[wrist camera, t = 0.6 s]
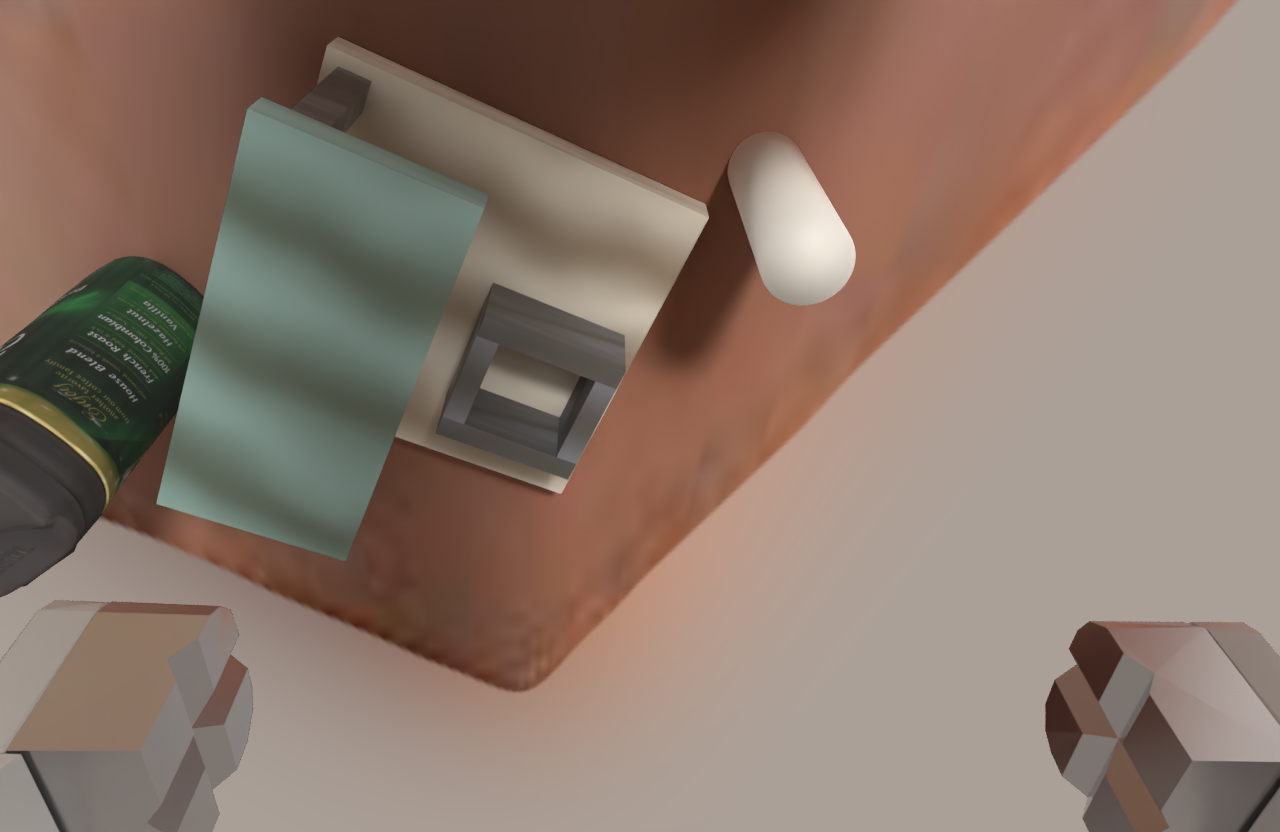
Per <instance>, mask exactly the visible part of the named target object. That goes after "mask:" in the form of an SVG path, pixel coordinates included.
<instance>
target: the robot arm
mask: <svg viewBox="0 0 1280 832" xmlns="http://www.w3.org/2000/svg"><path fill="white" fill-rule="evenodd" d="M238 636H239V633H238V630H237V627H236V624H235V621H234V618H233V614H232V611H231V610H230V609H227V608H224V607H221V606H203V605H181V604H180V605H179V604H157V603H133V602H111V603H109V602H86V601H62V600H55V601H53V602H52V603H50V604H48V605H46V606H45V607H43V608H41V609H40V610H39V611H37V613H35V615H34V616H33V617H32V619H31V620H30V621H29V623H28V624H27V625H26V627H25V628H24V630H23V631H22V632H21V634H20V635H19V636H18V638H17V639H16V640H15V642H14V643H13V644H12V646H11V647H10V648H9V650H8V651H7V653H6V654H5V655H4V657H3V658H2V659H1V661H0V832H212V831H213V829H214V826H215V824H216V821H217V819H218V816H219V810H218V807H217V804H216V801H215V797H214V794H213V791H212V790H213V789H214V788H215V787H216V786H218V785H219V784H220V783H221V782H222V781H223V780H225V779H226V778H227V777H228V776H230V774H232V773H233V772H234V771H235V770H237V768H238V765H239V763H240V760H241V757H242V755H243V752H244V749H245V746H246V744H247V741H248V735H249V730H250V724H251V718H252V713H253V698H252V697H253V696H252V684H251V680H250V676H249V672H248V668H247V667H245V666H244V665H243V664H242V663H240V662H239V661H238V660H237V659H235V658H234V657H233V656H232V655H231V652H232V650H233V647H234V645H235V643H236V641H237V638H238ZM1069 650H1070V652H1071V654H1072V656H1073V658H1074V660H1075V662H1076V663H1077V665H1075V666H1074V667H1072V668H1071V669H1070V670H1068V671H1067V672H1065V673H1064V674H1063V675H1061V676H1060V677H1058V678H1057V679H1055V681H1054V683H1053V686H1052V688H1051V691H1050V693H1049V696H1048V698H1047V701H1046V704H1045V707H1046V708H1045V709H1046V711H1045V712H1046V715H1045V718H1046V721H1045V722H1046V723H1045V724H1046V725H1045V731H1046V735H1047V738H1048V742H1049V746H1050V750H1051V753H1052V756H1053V758H1054V759H1055V762H1056V764H1057V766H1058V769H1059V771H1060V773H1061V775H1062V776H1063V777H1064V778H1065V779H1066V780H1067V781H1069V782H1070V783H1071V784H1073V785H1074V786H1075V787H1076V788H1077V789H1079V790H1080V791H1081V792H1082V793H1083V794H1085V795H1086V796H1087V802H1086V806H1085V810H1084V814H1083V820H1084V822H1085V824H1086V827H1087V829H1088V831H1089V832H1280V656H1279V655H1278V654H1277V653H1276V652H1275V650H1274V649H1273V648H1272V647H1271V646H1270V644H1269V643H1268V642H1267V641H1266V639H1265V638H1264V637H1263V636H1262V635H1261V634H1260V633H1259V632H1258V631H1256V630H1255V629H1253V628H1251V627H1250V626H1248V625H1247V624H1245V623H1241V622H1240V623H1239V622H1237V623H1236V622H1191V623H1184V622H1130V621H1128V622H1127V621H1126V622H1125V621H1121V622H1120V621H1119V622H1118V621H1089V622H1088V623H1087V624H1085V625H1084V626H1083V627H1081V628H1080V629H1079V630H1078V631H1077V633H1076V635H1075V637H1074V639H1073V641H1072V643H1071V645H1070V647H1069Z"/></svg>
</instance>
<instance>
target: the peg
mask: <svg viewBox="0 0 1280 832" xmlns="http://www.w3.org/2000/svg"><path fill="white" fill-rule="evenodd" d="M728 180H729V183H730V186H731V189H732V192H733V195H734V198H735V201H736V204H737V207H738V210H739V213H740V216H741V219H742V222H743V225H744V228H745V231H746V234H747V237H748V240H749V243H750V246H751V248H752V251H753V254H754V257H755V260H756V263H757V266H758V269H759V272H760V275H761V278H762V281H763V283H764V285H765V286H766V288H767V289H768V291H769V292H770V293H771V294H772V295H773V296H775V297H776V298H777V299H779V300H781V301H783V302H786V303H788V304H793V305H812V304H816V303H819V302H822V301H824V300H826V299H828V298H830V297H832V296H833V295H835V294H836V293H837V292H838V291H839V290H841V288H842V287H843V286H844V285H845V284H846V282H847V281H848V280H849V278H850V276H851V274H852V271H853V269H854V265H855V258H856V254H855V246H854V243H853V240H852V238H851V236H850V235H849V233H848V231H847V229H846V228H845V226H844V224H843V223H842V221H841V219H840V218H839V216H838V214H837V212H836V211H835V209H834V207H833V206H832V204H831V202H830V201H829V199H828V197H827V195H826V194H825V192H824V190H823V189H822V187H821V185H820V184H819V182H818V180H817V178H816V177H815V175H814V173H813V172H812V170H811V168H810V167H809V165H808V163H807V161H806V160H805V158H804V156H803V155H802V153H801V151H800V150H799V148H798V146H797V145H796V144H795V143H794V141H793V140H791V139H790V138H789V137H787V136H786V135H783V134H781V133H778V132H772V131H765V132H759V133H756V134H753V135H751V136H749V137H747V138H746V139H745V140H743V141H742V142H741V143H740V144H739V145H738V146H737V147H736V149H735V150H734V152H733V153H732V155H731V157H730V160H729V164H728Z"/></svg>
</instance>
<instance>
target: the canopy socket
mask: <svg viewBox="0 0 1280 832" xmlns="http://www.w3.org/2000/svg"><path fill="white" fill-rule="evenodd" d="M708 219H709V215H708V212H707V208H706V204H704V203H702V202H700V201H698V200H695V199H693V198H691V197H689V196H687V195H685V194H682V193H680V192H678V191H676V190H674V189H671V188H669V187H667V186H665V185H663V184H660V183H658V182H656V181H654V180H652V179H649V178H647V177H645V176H643V175H641V174H638V173H636V172H634V171H632V170H630V169H627V168H625V167H623V166H621V165H619V164H616V163H614V162H612V161H610V160H608V159H605V158H603V157H601V156H599V155H597V154H595V153H592V152H590V151H588V150H586V149H584V148H581V147H579V146H577V145H575V144H573V143H570V142H568V141H566V140H564V139H562V138H559V137H557V136H555V135H553V134H551V133H548V132H546V131H544V130H542V129H540V128H537V127H535V126H533V125H531V124H529V123H526V122H524V121H522V120H520V119H518V118H516V117H513V116H511V115H509V114H507V113H505V112H502V111H500V110H498V109H496V108H494V107H491V106H489V105H487V104H485V103H483V102H480V101H478V100H476V99H474V98H472V97H469V96H467V95H465V94H463V93H461V92H458V91H456V90H454V89H452V88H450V87H447V86H445V85H443V84H441V83H439V82H437V81H434V80H432V79H430V78H428V77H426V76H423V75H421V74H419V73H417V72H415V71H412V70H410V69H408V68H406V67H404V66H401V65H399V64H397V63H395V62H393V61H390V60H388V59H386V58H384V57H382V56H379V55H377V54H375V53H373V52H371V51H368V50H366V49H364V48H362V47H360V46H358V45H355V44H353V43H351V42H349V41H347V40H344V39H342V38H340V37H337V38H336V39H334V40H333V41H332V42H331V43H329V44H328V45H327V48H326V51H325V55H324V59H323V63H322V66H321V70H320V74H319V77H318V81H317V85H316V87H315V88H314V89H312V90H311V91H310V92H309V93H308V94H307V95H306V96H305V97H304V98H302V99H301V100H300V101H299V102H298V103H297V104H296V105H295V106H294V107H292V108H291V109H289V108H286V107H284V106H282V105H279V104H277V103H275V102H272V101H270V100H268V99H265V98H263V97H261V98H260V99H259V100H257V101H256V102H255V103H254V104H252V105H251V106H250V107H249V108H247V112H246V117H245V121H244V125H243V130H242V134H241V138H240V143H239V147H238V151H237V156H236V160H235V164H234V169H233V173H232V177H231V182H230V186H229V190H228V195H227V199H226V204H225V208H224V212H223V217H222V221H221V225H220V230H219V234H218V238H217V243H216V247H215V251H214V256H213V260H212V264H211V269H210V273H209V277H208V282H207V286H206V290H205V295H204V299H203V303H202V308H201V312H200V316H199V321H198V325H197V329H196V334H195V338H194V342H193V347H192V351H191V355H190V360H189V364H188V368H187V373H186V377H185V381H184V386H183V390H182V394H181V399H180V403H179V407H178V412H177V416H176V420H175V425H174V429H173V433H172V438H171V442H170V446H169V451H168V455H167V459H166V464H165V468H164V472H163V477H162V481H161V485H160V490H159V494H158V498H157V503H156V504H158V505H161V506H164V507H168V508H171V509H174V510H178V511H181V512H184V513H188V514H191V515H194V516H197V517H201V518H204V519H207V520H211V521H214V522H217V523H220V524H224V525H227V526H230V527H234V528H237V529H240V530H244V531H247V532H250V533H253V534H257V535H260V536H263V537H267V538H270V539H273V540H276V541H280V542H283V543H286V544H290V545H293V546H296V547H299V548H303V549H306V550H309V551H313V552H316V553H319V554H323V555H326V556H329V557H332V558H336V559H339V560H342V561H346V560H347V557H348V555H349V552H350V549H351V547H352V544H353V542H354V539H355V537H356V534H357V532H358V529H359V527H360V524H361V521H362V519H363V516H364V514H365V511H366V509H367V506H368V504H369V501H370V498H371V496H372V493H373V491H374V488H375V486H376V483H377V481H378V478H379V476H380V473H381V470H382V468H383V465H384V463H385V460H386V458H387V455H388V453H389V450H390V448H391V445H392V442H393V440H394V437H398V438H400V439H403V440H406V441H409V442H412V443H415V444H418V445H421V446H424V447H427V448H429V449H432V450H435V451H438V452H441V453H444V454H447V455H450V456H453V457H456V458H458V459H461V460H464V461H467V462H470V463H473V464H476V465H479V466H482V467H485V468H487V469H490V470H493V471H496V472H499V473H502V474H505V475H508V476H511V477H514V478H516V479H519V480H522V481H525V482H528V483H531V484H534V485H537V486H540V487H543V488H545V489H548V490H551V491H554V492H557V493H560V494H561V493H562V491H563V490H564V488H565V486H566V484H567V482H568V480H569V478H570V477H571V475H572V473H573V471H574V469H575V467H576V465H577V463H578V462H579V460H580V458H581V456H582V454H583V452H584V450H585V449H586V447H587V445H588V443H589V441H590V439H591V437H592V435H593V434H594V432H595V430H596V428H597V426H598V424H599V422H600V421H601V419H602V417H603V415H604V413H605V411H606V409H607V407H608V406H609V404H610V402H611V400H612V398H613V396H614V394H615V393H616V391H617V389H618V387H619V385H620V383H621V381H622V379H623V378H624V376H625V374H626V372H627V370H628V368H629V366H630V365H631V363H632V361H633V359H634V357H635V355H636V353H637V351H638V350H639V348H640V346H641V344H642V342H643V340H644V338H645V336H646V335H647V333H648V331H649V329H650V327H651V325H652V323H653V322H654V320H655V318H656V316H657V314H658V312H659V310H660V308H661V307H662V305H663V303H664V301H665V299H666V297H667V295H668V294H669V292H670V290H671V288H672V286H673V284H674V282H675V280H676V279H677V277H678V275H679V273H680V271H681V269H682V267H683V266H684V264H685V262H686V260H687V258H688V256H689V254H690V252H691V251H692V249H693V247H694V245H695V243H696V241H697V239H698V238H699V236H700V234H701V232H702V230H703V228H704V226H705V224H706V223H707V221H708Z"/></svg>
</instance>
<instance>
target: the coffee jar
mask: <svg viewBox="0 0 1280 832" xmlns="http://www.w3.org/2000/svg"><path fill="white" fill-rule="evenodd" d="M203 299H204V297H203V296H202V295H201V294H200V293H199V292H198V291H197V290H196V289H195V288H194V287H193V286H192V285H191V284H190V283H188V282H187V281H186V280H185V279H184V278H182V277H181V276H180V275H178V274H177V273H175V272H174V271H172V270H171V269H169V268H168V267H166V266H164V265H162V264H161V263H158V262H156V261H153V260H150V259H147V258H143V257H123V258H119V259H116V260H114V261H112V262H110V263H108V264H106V265H105V266H103V267H101V268H99V269H98V270H96V271H95V272H93V273H92V274H90V275H89V276H88V277H86V278H85V279H84V280H82V281H81V282H80V283H79V284H77V285H76V286H75V287H74V288H72V289H71V290H70V291H69V292H67V293H66V294H65V295H63V296H62V297H61V298H60V299H59V300H57V301H56V302H55V303H54V304H53V305H51V306H50V307H49V308H48V309H47V310H46V311H45V312H43V313H42V314H41V315H40V316H39V317H38V318H36V319H35V320H34V321H33V322H31V323H30V324H29V325H28V326H26V327H25V328H24V329H23V330H21V331H20V332H19V333H18V334H16V335H15V336H14V337H13V338H11V339H10V340H9V341H8V342H6V343H5V344H4V345H3V346H1V347H0V597H2V596H5V595H7V594H9V593H11V592H13V591H15V590H16V589H18V588H20V587H22V586H26V585H28V584H29V583H30V582H32V581H33V580H34V579H36V578H37V577H38V576H40V575H41V574H43V573H44V572H46V571H47V570H48V569H50V568H51V567H52V566H54V565H55V564H57V563H58V562H60V561H61V560H63V559H64V558H65V557H67V556H68V555H70V554H71V553H73V552H74V550H75V548H76V545H77V543H78V542H79V541H80V540H81V539H82V537H83V536H84V535H85V534H86V533H87V531H88V530H89V529H90V528H91V527H92V525H93V524H94V523H95V522H96V521H97V520H98V519H99V517H100V516H101V514H102V513H103V511H104V510H105V509H106V507H107V506H108V504H109V503H110V501H111V500H112V498H113V497H114V495H115V494H116V492H117V491H118V489H119V488H120V486H121V485H122V484H123V482H124V481H125V479H126V478H127V477H128V475H129V474H130V473H131V471H132V470H133V469H134V467H135V466H136V465H137V463H138V462H139V461H140V459H141V458H142V457H143V455H144V454H145V453H146V451H147V450H148V449H149V448H150V446H151V445H152V444H153V442H154V441H155V440H156V438H157V437H158V436H159V435H160V433H161V432H162V431H163V429H164V428H165V427H166V425H167V424H168V423H169V421H170V420H171V419H172V417H173V416H174V415H175V414H176V412H177V411H178V407H179V403H180V399H181V394H182V390H183V386H184V381H185V377H186V373H187V368H188V364H189V360H190V355H191V351H192V347H193V342H194V338H195V334H196V329H197V325H198V321H199V316H200V312H201V308H202V303H203Z"/></svg>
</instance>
